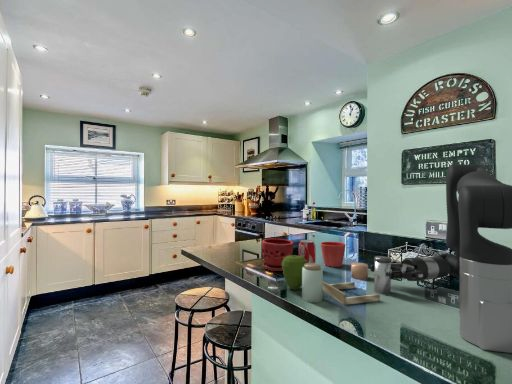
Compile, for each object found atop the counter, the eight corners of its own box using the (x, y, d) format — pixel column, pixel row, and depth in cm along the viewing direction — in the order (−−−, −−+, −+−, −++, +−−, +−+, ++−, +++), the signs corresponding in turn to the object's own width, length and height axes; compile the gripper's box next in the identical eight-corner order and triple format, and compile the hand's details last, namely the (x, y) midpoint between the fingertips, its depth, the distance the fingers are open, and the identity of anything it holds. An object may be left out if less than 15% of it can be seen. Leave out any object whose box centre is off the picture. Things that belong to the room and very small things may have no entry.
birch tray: (353, 287, 92) (353, 278, 92) (379, 300, 80) (379, 290, 80) (321, 290, 88) (321, 281, 89) (344, 305, 77) (344, 294, 77)
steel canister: (392, 295, 85) (393, 259, 85) (375, 293, 86) (375, 258, 86) (388, 290, 90) (389, 256, 90) (372, 288, 91) (372, 255, 91)
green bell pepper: (313, 289, 90) (313, 254, 90) (296, 295, 84) (297, 257, 84) (292, 282, 96) (292, 250, 96) (276, 288, 90) (276, 253, 90)
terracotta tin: (369, 280, 100) (369, 266, 100) (352, 279, 102) (352, 265, 102) (366, 276, 106) (366, 263, 106) (350, 274, 107) (350, 262, 108)
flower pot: (315, 263, 125) (315, 242, 125) (334, 261, 130) (334, 240, 130) (331, 269, 115) (331, 246, 115) (350, 266, 120) (350, 244, 120)
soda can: (315, 272, 110) (315, 242, 110) (297, 271, 111) (298, 241, 112) (315, 267, 117) (315, 239, 117) (298, 266, 118) (298, 239, 119)
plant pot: (261, 273, 108) (261, 242, 108) (262, 265, 121) (262, 237, 121) (294, 274, 107) (294, 243, 107) (291, 265, 120) (292, 238, 120)
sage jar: (322, 303, 78) (322, 268, 78) (301, 301, 79) (301, 266, 79) (322, 296, 84) (322, 263, 84) (302, 294, 85) (302, 262, 85)
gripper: (402, 253, 99) (365, 255, 95) (439, 262, 86) (397, 265, 81) (402, 274, 99) (365, 277, 95) (439, 286, 86) (397, 290, 81)
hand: (380, 271), depth 88 cm, fingers open, 8 cm apart
